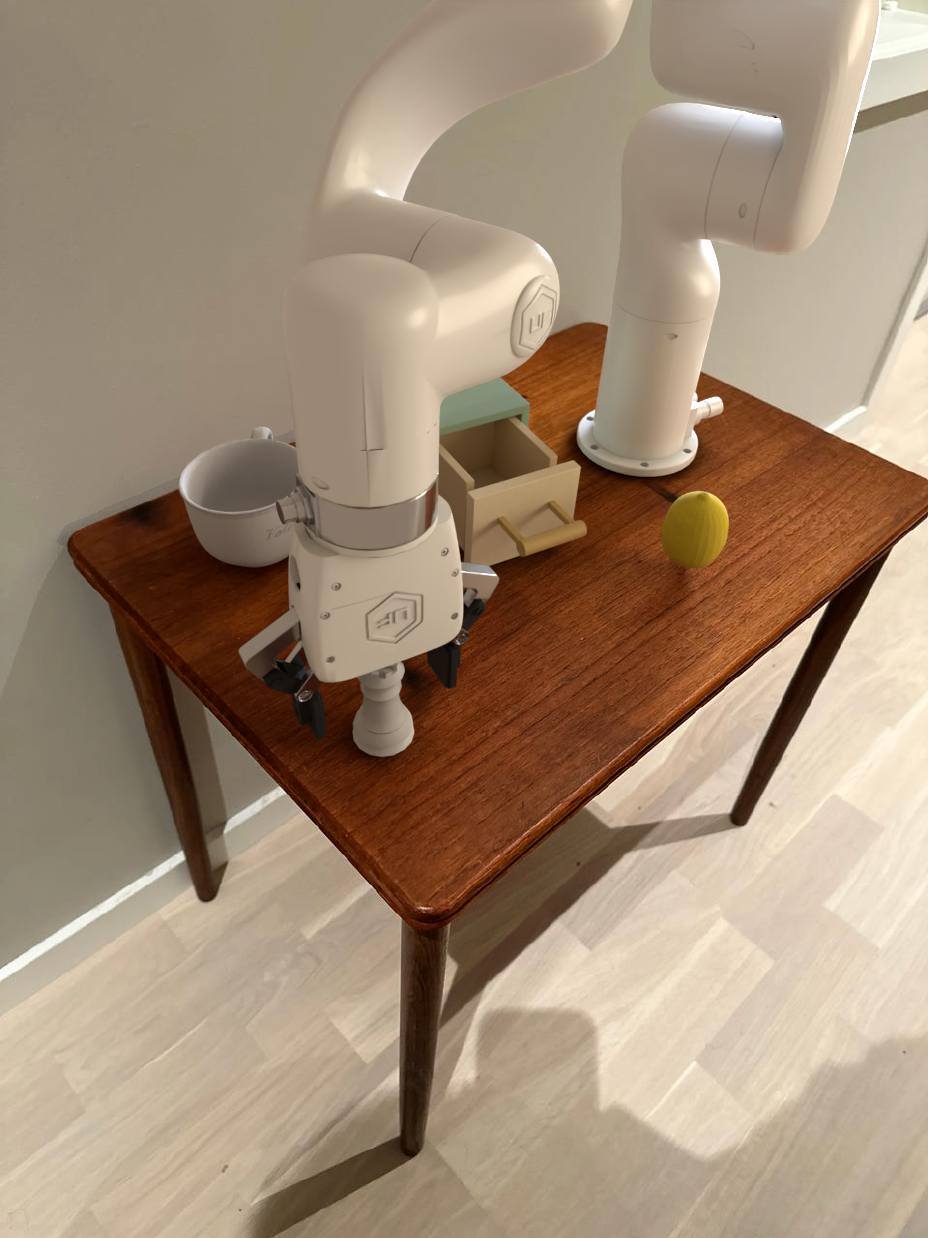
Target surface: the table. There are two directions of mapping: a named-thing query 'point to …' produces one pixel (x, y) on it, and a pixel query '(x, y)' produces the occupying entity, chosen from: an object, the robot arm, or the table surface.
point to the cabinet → (482, 407)
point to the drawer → (507, 492)
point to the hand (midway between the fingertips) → (379, 698)
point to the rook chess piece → (383, 713)
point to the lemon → (695, 529)
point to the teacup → (241, 498)
